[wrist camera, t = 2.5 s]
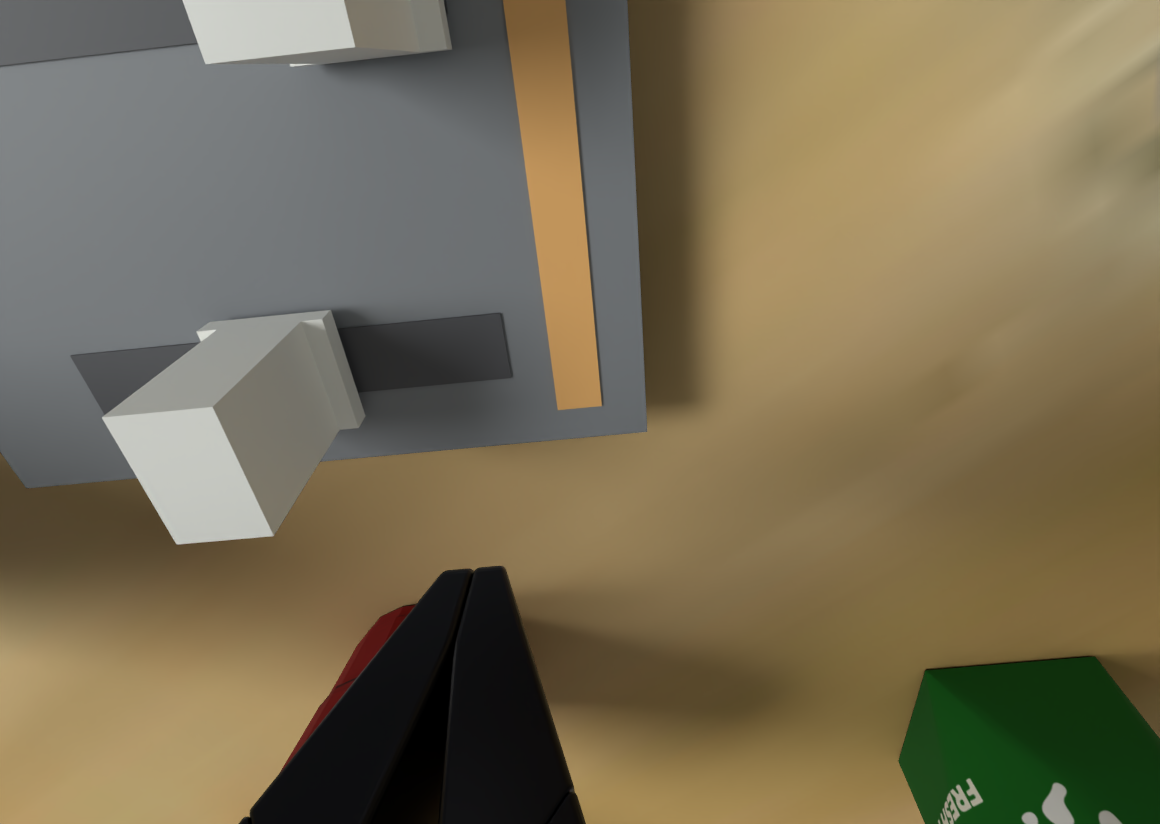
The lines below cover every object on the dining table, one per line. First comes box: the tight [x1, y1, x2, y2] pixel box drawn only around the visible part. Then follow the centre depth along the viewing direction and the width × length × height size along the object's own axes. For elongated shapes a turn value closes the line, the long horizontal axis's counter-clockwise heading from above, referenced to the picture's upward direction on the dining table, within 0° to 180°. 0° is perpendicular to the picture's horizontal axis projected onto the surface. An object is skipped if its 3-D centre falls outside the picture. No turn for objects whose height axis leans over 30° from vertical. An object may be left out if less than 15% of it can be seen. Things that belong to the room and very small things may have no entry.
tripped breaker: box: [102, 310, 365, 545], centre depth 13 cm, size 3×3×5 cm
